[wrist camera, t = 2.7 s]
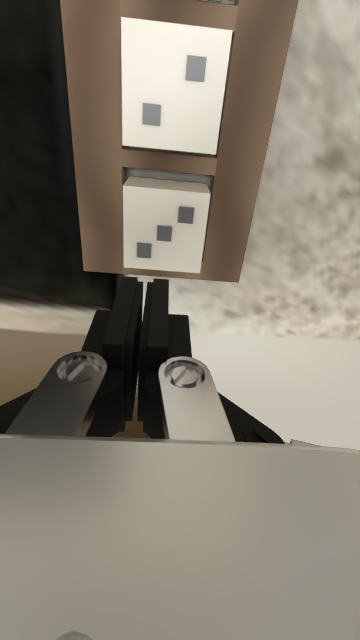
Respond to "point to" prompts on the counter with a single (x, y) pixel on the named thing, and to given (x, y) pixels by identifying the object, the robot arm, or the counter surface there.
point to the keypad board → (225, 167)
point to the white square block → (164, 224)
